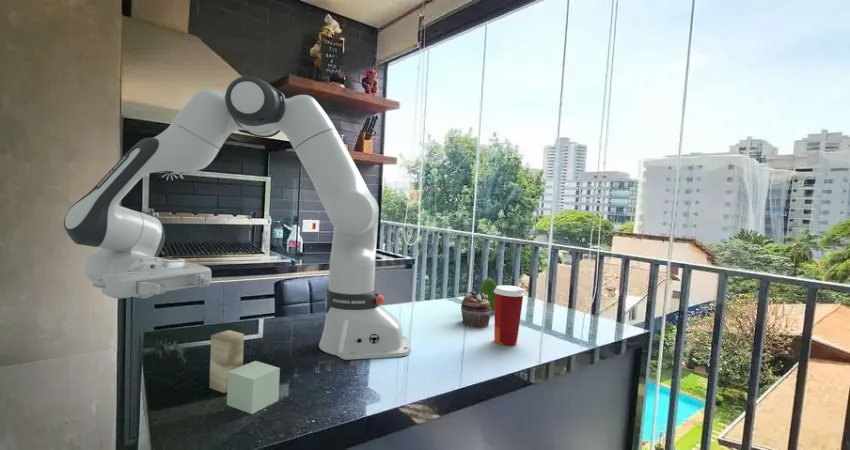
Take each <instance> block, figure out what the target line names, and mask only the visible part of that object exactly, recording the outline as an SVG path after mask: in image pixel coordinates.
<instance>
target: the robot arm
mask: <svg viewBox="0 0 850 450" xmlns="http://www.w3.org/2000/svg"><path fill="white" fill-rule="evenodd" d="M235 131H239V132H240V133H243V134H246V135H251V136H254V137H257V138H272V137H274V136H276V135H278V134H279V133H281V132H282V133H283V134H284V135H285V136H286V138H287V139H288V141H289V143H290V145H291V147H292V148H293V150H294V151H295V154H296V156H297V157H298V160H300V163H301V165H302V166H303V168H304V169H305V171H306V173H307V175H308V177H309V179H310V180H311V182H312V184H313V186H314V188H315V191H316V194H317V196H318V198H319V200H320V202H321V204H322V207H323V208H324V210H325V213H326V214H327V216H328V218H329V220H330V222H331V224H332V227H333V234H332V242H331V250H330V255H329V256H330V257H329V273H328V275H329V276H328V288H326V289H327V290H326V293H325V308H324V309H325V313H326V314H325V322H324V327H323V331H322V335H321V338H320V341H319V344H318V348H319V349H320V350H321V351H323V352H325V353H326V354H330V355H334V356H337V357H338V358H341V359H342V360H345V361H346V360H347V361H348V360H363V359H365V360H366V359H379V358H381V359H382V358H396V357H399V358H400V357H405V356H408V355H409V354H410V352H411V348H412V347H411V342H410V340H409V339H408V338H407V337H406V336H405V335H403V331H402V325H401V322H400V321H399V319H398V318H397V317H396V316H395V315H393V314H392V313H391V312H390V311H389V310H387V309H386V308H385V307H383V306H382V305H383V304H384V303H385V297H384V296H383V295H382V293H381V292H380V290H379V291H378V290H376V289H375V279H376V278H375V277H376V275H375V274H376V258H377V257H376V255H377V243H378V226H379V215H380V213H379V211H380V209H379V204H378V202H377V200H376V198H375V196H373V195H372V194H371V192H370V190H369V189H368V187H367V186H368V185H366V182H365V180H364V179H363V177H362V175H361V173H360V171H359V169H358V167H357V165H356V163H355V161H354V159H353V157H352V156H351V154H350V152H349V150H348V148H347V146H346V144H345V143H344V141H343V140H342V136H341V135H340V134H339V131H338V130H337V128H336V126H335V125H334V123H333V122H332V120H331V118H330V116H328V114H327V113H326V112H325V110H324V108H323V107H322V105H320V104H319V102H318V101H317V100H316V99H315V98H314V97H313V96H311V95H308V94H298V95H294V96H291V97H288V98H286V97H285V94H284V93H283V92H282V91H280V90H278V89H277V88H276V87H274V86H272V85H271V84H269V83H267V82H266V81H264V80H262V79H261V78H258V77H255V76H250V75H249V76H248V75H247V76H246V75H245V76H240V77H238V78H236V79H234V80H232V81H231V82H230V84H228V87H227V89H226V91H225V94H223V93H221V92H219V91H217V90H212V89H200V90H199V91H197V92H196V93H195V94H194V95H193V96H192V97H191V98H190V99H189V100H188V101H187V102H186V103H185V104H184V105H183V106H182V108H180V111H179V112H177V114H176V116H175V117H174V119H173V120H172V122H171V123H170V125H169V126H168V127H167V128H166V129H165V130H163V131H162V132H161V133H159V134H158V135H156V136H154V137H145V138H143V139H141V140H139V141H138V142H137V143H136V144H135V145H133V146H132V147H131V148H130V149H129V150H128V151H126V153H125V154H124V155H123V156H122V157H121V158H120V159H119V160H118V161H117V162H116V164H114V166H113V167H112V168H111V169H110V170H109V171H108V172H107V173H106V174H105V175H104V176H103V177H102V179H100V181H99V182H97V184H96V185H95V186H94V187H93V188H92V189H91V190H90V191H89V192H88V193H86V194H85V195H83V197H81V198H80V199H78V200H77V201H76V202H74V204H73V205H72V206H71V207H70V208H69V209H68V210H67V212H66V215H65V217H64V220H63V227H64V230H65V232H66V233H67V236H69V238H70V240H71V241H72V242H74V243H75V244H76V245H79V246H80V245H81V246H85V247H92V248H93V247H94V248H101V249H99V250H96V251H94V252H93V253H91V254H89V256H88V257H87V258H86V260H85V262H84V273H85V275H86V277H87V278H88V279H89V280H90V281H91V282H92V287H94V288H98V289H101V292H102V294H103V295H105V296H108V297H110V298H112V299H126V298H132V297H133V298H134V297H135V298H139V299H148V298H151V297H154V296H157V295H162V294H163V295H164V294H166V292H171V291H177V290H183V289H190V288H195V287H196V288H197V287H199V288H205V287H209V286H210V284H211V281H212V270H211V268H210V267H209V266H204V265H202V264H198V263H193V262H188V261H186V259H184V258H180V257H178V258H177V257H173V258H172V257H159V255H160V253H161V252H162V249H163V248H164V243H165V240H166V233H165V229H164V226H163V223H162V221H161V220H160V218H157V217H155V216H152V215H149V214H146V213H144V212H140V211H136V210H134V209H130V208H128V207H126V206H125V207H124V206H121V205H119V203H120V202H121V201H122V200H123V198H124V197H125V196H126V195H127V194H129V192H130V191H131V190H132V189H133V187H135V185H137V184H138V182H139V181H140V180H141V179H143V177H145V176H147V175H149V174H152V173H156V172H173V173H174V172H175V173H193V172H198V171H201V170H204V169H206V168H207V167H208V166H209V165H210V164H211V163H212V162H213V161H214V159H215V158H216V157H217V155H218V153H219V152H220V150H221V149H222V147H223V145H224V143H225V141H226V140H227V139H228V137H229V136H230V135H231V134H232V133H233V132H235Z"/></svg>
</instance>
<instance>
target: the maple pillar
mask: <svg viewBox="0 0 850 450" xmlns="http://www.w3.org/2000/svg"><path fill="white" fill-rule="evenodd" d="M244 343H245V334H244V333H242V332H238V331H234V330H230V329H229V330H225V331H224V330H223V331H221V332H217V333H214V334H211V335H210V358H209V361H210V362H209V385H208V386H209V387H208V388H209V389H212V390H215V391H217V392H220V393H223V394H225V393H227V386H228V371H230V370H233V369H236V368H238V367H241V366H243V365H244Z"/></svg>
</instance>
